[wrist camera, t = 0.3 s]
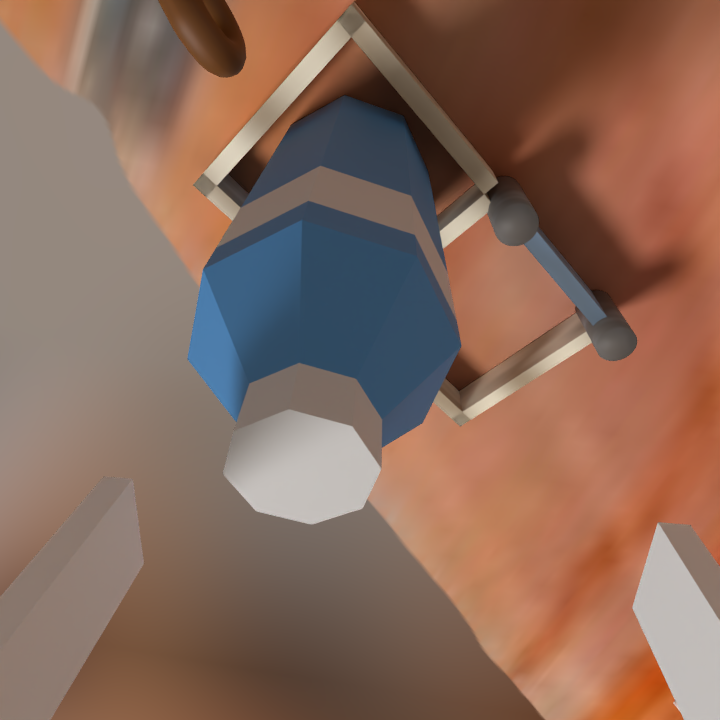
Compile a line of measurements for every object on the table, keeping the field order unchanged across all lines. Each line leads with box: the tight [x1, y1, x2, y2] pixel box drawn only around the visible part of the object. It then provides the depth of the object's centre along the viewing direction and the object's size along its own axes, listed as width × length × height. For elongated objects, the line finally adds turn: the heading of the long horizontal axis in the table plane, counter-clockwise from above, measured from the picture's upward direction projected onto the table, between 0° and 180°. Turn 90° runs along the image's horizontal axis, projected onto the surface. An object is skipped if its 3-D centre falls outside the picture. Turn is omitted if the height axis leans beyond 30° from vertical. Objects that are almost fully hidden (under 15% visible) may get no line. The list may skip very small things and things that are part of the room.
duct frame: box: [193, 2, 637, 426], centre depth 36 cm, size 14×26×5 cm, turn 44°
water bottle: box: [188, 95, 461, 524], centre depth 25 cm, size 9×9×25 cm
